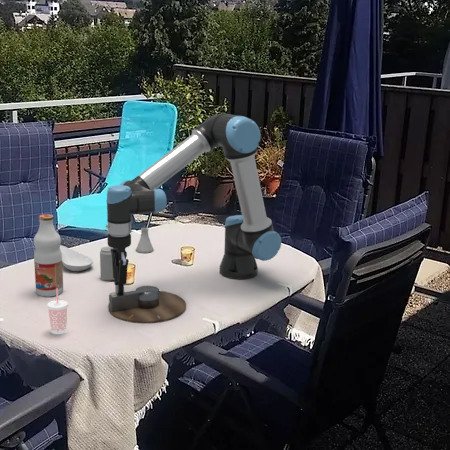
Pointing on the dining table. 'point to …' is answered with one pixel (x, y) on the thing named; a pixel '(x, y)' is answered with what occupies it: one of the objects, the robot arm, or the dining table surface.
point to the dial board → (154, 310)
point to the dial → (135, 298)
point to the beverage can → (106, 264)
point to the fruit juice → (48, 258)
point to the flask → (144, 242)
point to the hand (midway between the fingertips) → (119, 301)
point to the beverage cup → (58, 315)
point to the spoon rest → (74, 259)
